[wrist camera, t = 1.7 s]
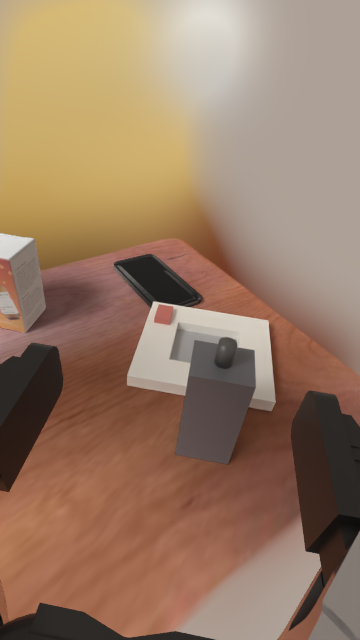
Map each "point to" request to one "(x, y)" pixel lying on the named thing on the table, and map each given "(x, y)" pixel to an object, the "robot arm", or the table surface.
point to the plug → (216, 399)
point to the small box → (19, 283)
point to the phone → (156, 281)
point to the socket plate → (177, 346)
